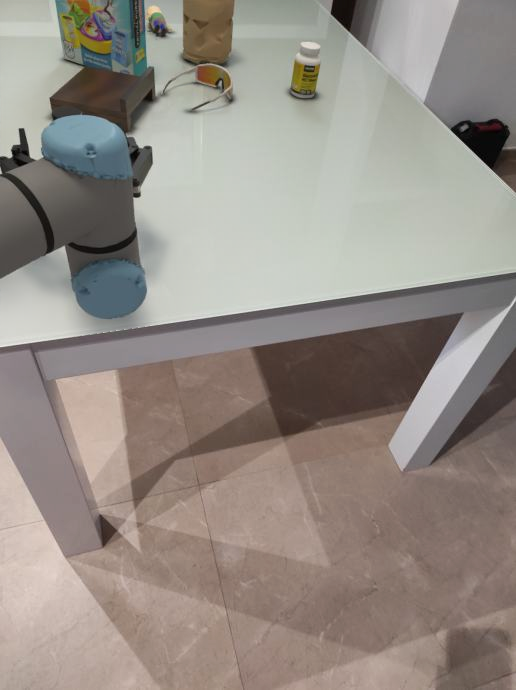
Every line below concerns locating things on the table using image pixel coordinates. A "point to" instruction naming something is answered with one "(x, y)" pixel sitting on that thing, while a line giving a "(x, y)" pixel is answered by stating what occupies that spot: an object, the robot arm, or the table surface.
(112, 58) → the game box
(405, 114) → the table surface
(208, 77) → the sunglasses
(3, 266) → the robot arm
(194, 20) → the container
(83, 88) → the shelf
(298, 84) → the pill bottle
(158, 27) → the toy figurine
